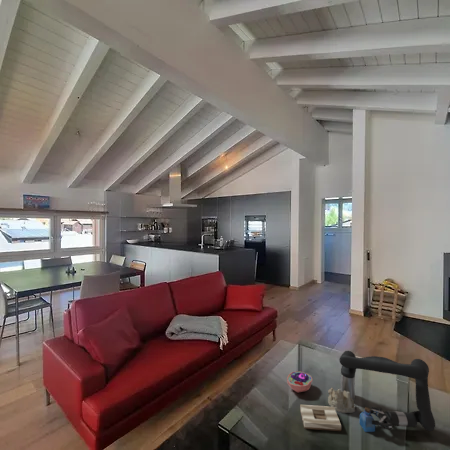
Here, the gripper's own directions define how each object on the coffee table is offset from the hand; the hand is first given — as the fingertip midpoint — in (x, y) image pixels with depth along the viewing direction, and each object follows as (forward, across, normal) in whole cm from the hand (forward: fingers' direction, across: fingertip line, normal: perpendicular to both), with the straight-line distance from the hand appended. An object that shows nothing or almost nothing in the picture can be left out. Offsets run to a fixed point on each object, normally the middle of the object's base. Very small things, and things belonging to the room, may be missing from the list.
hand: (368, 416), depth 164 cm
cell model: (+37, -32, +7) cm, 49 cm away
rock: (+11, -18, +7) cm, 23 cm away
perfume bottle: (+1, 0, +7) cm, 7 cm away
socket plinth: (+29, -3, +7) cm, 30 cm away
